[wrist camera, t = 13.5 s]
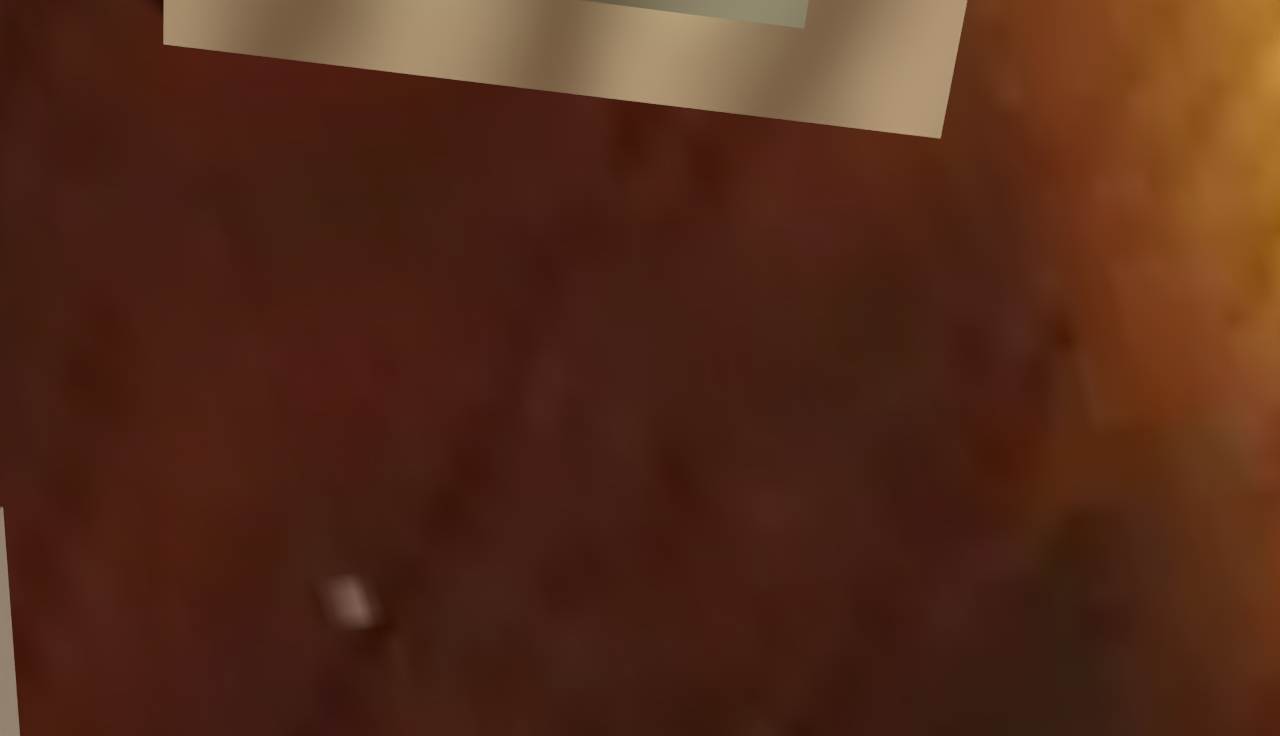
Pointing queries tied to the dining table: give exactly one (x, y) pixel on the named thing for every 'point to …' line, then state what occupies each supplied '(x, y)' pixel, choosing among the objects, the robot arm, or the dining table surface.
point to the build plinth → (627, 49)
